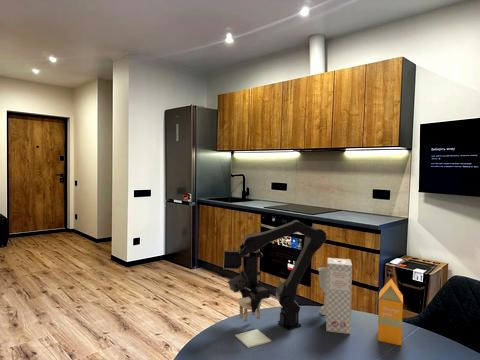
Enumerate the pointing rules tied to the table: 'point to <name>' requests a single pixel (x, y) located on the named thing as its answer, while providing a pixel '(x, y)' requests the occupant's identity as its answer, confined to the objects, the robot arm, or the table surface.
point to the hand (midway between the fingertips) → (249, 309)
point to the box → (339, 295)
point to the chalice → (323, 287)
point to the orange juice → (390, 314)
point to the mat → (252, 338)
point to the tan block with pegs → (246, 304)
